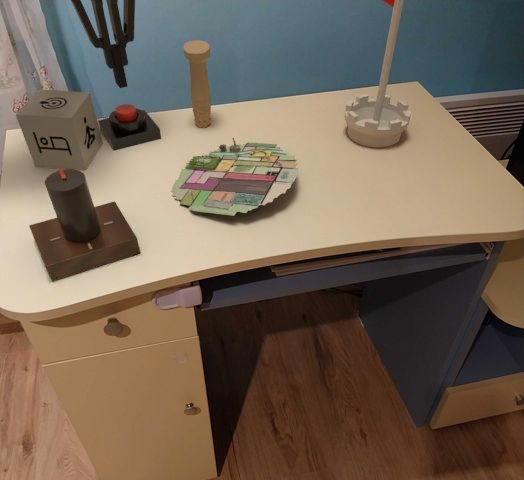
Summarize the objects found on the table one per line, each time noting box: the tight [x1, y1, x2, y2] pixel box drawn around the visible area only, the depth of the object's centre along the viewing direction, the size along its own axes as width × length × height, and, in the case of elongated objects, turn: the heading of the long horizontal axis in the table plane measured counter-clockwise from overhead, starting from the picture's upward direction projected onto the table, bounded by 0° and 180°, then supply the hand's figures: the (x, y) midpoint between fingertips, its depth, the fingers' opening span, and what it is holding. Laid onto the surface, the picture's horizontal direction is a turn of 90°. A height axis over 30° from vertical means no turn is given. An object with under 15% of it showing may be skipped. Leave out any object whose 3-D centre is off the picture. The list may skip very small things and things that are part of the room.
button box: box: [97, 107, 162, 151], centre depth 101 cm, size 9×10×4 cm
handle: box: [183, 39, 212, 129], centre depth 99 cm, size 5×6×15 cm
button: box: [114, 103, 137, 121], centre depth 99 cm, size 4×4×2 cm
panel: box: [28, 201, 141, 282], centre depth 78 cm, size 14×11×3 cm
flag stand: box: [344, 0, 412, 148], centre depth 92 cm, size 13×13×30 cm
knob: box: [44, 168, 101, 243], centre depth 74 cm, size 6×6×9 cm
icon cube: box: [15, 88, 104, 171], centre depth 93 cm, size 10×10×10 cm
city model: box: [170, 137, 300, 217], centre depth 90 cm, size 25×23×6 cm
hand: (121, 84), depth 95 cm, fingers closed
